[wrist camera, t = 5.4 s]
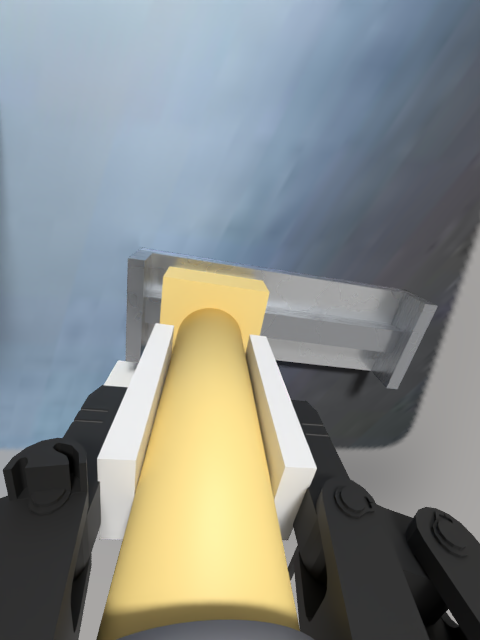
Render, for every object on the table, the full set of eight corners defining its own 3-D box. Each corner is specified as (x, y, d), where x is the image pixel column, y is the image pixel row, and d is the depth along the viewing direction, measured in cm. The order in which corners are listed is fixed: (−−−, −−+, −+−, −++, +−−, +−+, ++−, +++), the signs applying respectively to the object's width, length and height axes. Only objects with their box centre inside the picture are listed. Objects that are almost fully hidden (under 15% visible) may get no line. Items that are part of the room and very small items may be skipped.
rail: (138, 337, 19) (125, 361, 16) (142, 247, 16) (128, 258, 14) (373, 364, 21) (397, 388, 19) (405, 290, 19) (437, 305, 16)
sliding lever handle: (165, 348, 18) (3, 857, 4) (172, 261, 16) (-120, 725, 2) (242, 357, 18) (322, 811, 5) (259, 274, 16) (492, 681, 3)
